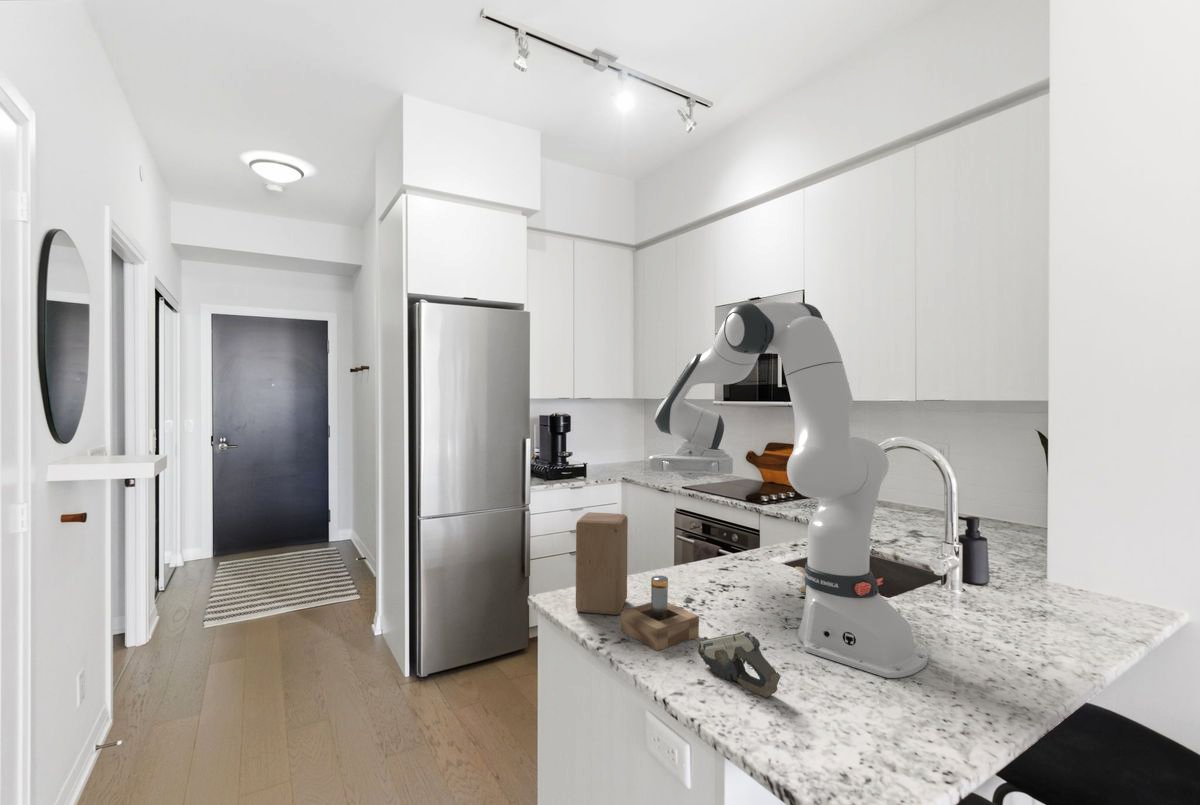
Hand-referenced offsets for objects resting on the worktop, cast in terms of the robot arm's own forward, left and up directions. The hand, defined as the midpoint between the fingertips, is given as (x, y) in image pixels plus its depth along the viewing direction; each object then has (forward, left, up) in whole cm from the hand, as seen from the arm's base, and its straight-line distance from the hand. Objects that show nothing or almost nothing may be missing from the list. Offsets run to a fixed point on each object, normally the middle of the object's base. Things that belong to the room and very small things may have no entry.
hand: (690, 468), depth 134 cm
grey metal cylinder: (-11, +19, -30) cm, 37 cm away
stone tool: (-15, -33, -31) cm, 48 cm away
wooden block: (+7, +20, -30) cm, 37 cm away
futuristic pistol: (-32, +21, -30) cm, 49 cm away
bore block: (-11, +19, -30) cm, 37 cm away
